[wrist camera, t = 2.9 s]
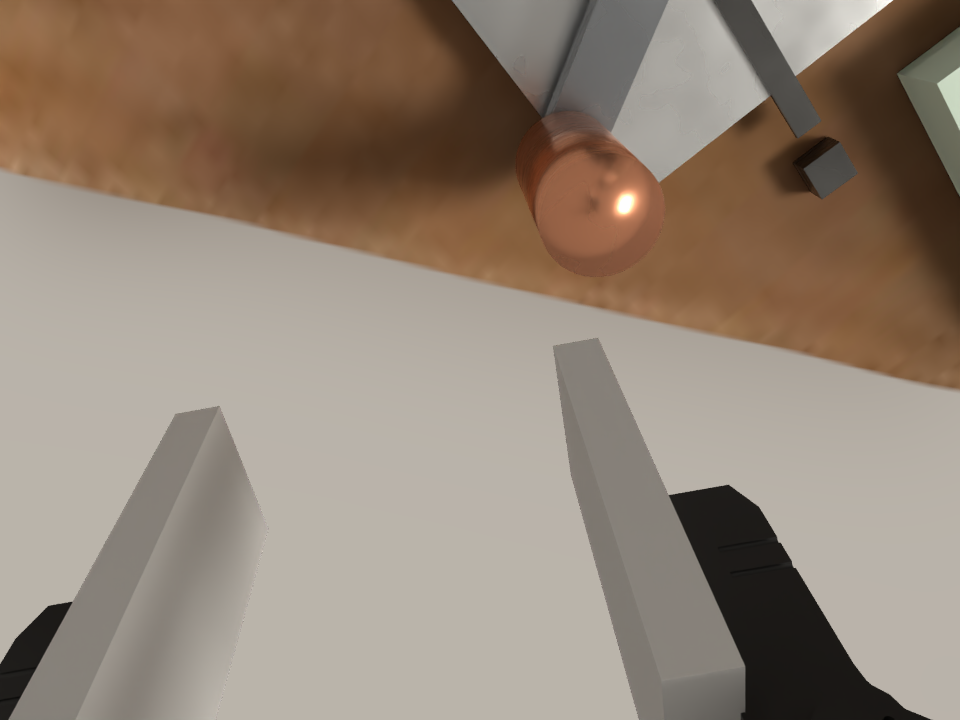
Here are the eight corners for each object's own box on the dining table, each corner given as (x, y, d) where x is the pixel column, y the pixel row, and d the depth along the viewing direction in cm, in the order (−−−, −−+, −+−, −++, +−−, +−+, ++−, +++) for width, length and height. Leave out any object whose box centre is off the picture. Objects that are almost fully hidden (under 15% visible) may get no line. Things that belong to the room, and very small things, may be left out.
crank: (639, -222, 23) (727, -296, 16) (763, -160, 24) (895, -206, 17) (488, 180, 28) (507, 250, 22) (593, 218, 29) (643, 295, 23)
